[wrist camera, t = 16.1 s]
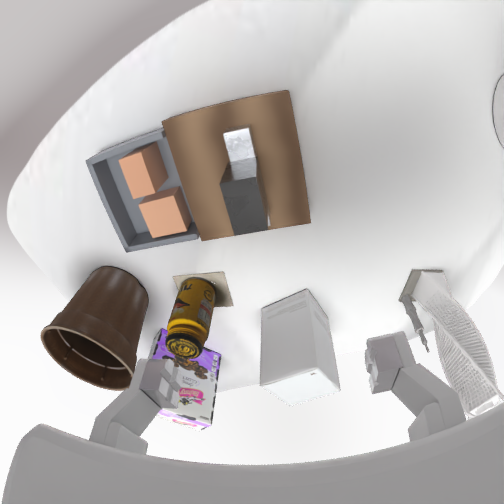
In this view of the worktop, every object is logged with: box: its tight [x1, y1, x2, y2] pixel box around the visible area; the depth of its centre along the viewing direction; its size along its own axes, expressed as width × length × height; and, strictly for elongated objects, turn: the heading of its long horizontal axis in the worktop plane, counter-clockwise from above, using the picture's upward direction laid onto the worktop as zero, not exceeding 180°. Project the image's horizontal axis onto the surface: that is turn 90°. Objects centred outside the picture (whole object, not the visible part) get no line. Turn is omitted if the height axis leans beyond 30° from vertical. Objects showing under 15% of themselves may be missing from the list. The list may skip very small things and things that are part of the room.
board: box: [162, 90, 311, 241], centre depth 32 cm, size 14×16×3 cm
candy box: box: [148, 329, 221, 431], centre depth 48 cm, size 14×6×16 cm, turn 56°
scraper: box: [219, 124, 271, 236], centre depth 27 cm, size 3×11×9 cm, turn 12°
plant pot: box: [41, 267, 148, 391], centre depth 40 cm, size 16×16×16 cm
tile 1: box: [139, 186, 192, 238], centre depth 35 cm, size 5×5×3 cm
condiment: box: [165, 272, 233, 359], centre depth 41 cm, size 7×8×12 cm
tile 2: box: [119, 141, 169, 199], centre depth 31 cm, size 5×5×3 cm
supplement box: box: [260, 289, 340, 406], centre depth 42 cm, size 9×9×15 cm
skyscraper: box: [399, 270, 504, 420], centre depth 31 cm, size 8×8×28 cm
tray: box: [86, 128, 199, 253], centre depth 33 cm, size 11×14×4 cm
